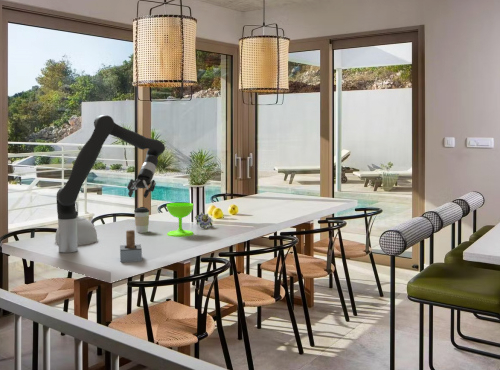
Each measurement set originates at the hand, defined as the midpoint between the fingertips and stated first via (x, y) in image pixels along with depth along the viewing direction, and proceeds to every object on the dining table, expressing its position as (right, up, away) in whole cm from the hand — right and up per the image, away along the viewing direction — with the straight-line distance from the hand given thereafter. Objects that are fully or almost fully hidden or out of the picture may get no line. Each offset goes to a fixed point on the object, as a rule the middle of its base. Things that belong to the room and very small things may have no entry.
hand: (137, 196), depth 291 cm
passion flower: (+28, -22, +71) cm, 80 cm away
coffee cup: (-8, -23, +57) cm, 62 cm away
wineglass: (+16, -24, +49) cm, 57 cm away
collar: (0, -30, -14) cm, 34 cm away
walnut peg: (0, -30, -14) cm, 33 cm away
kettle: (-40, -26, +30) cm, 57 cm away
